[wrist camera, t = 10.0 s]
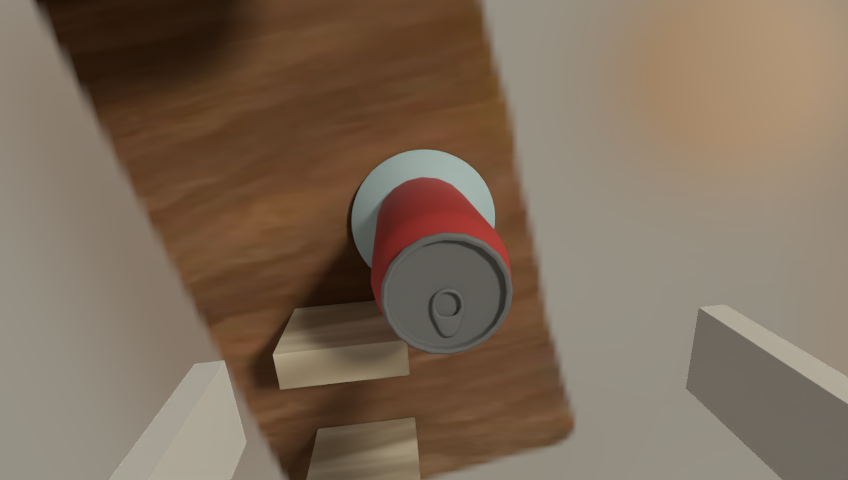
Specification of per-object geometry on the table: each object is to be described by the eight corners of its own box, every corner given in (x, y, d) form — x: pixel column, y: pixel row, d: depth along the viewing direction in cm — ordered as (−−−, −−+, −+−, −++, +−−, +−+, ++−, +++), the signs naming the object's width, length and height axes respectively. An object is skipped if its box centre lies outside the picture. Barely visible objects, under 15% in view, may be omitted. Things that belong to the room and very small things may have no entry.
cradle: (294, 308, 30) (272, 354, 24) (402, 297, 30) (405, 339, 25) (322, 452, 34) (308, 521, 28) (417, 441, 35) (422, 506, 29)
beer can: (381, 271, 29) (376, 373, 18) (371, 179, 27) (358, 228, 16) (472, 262, 29) (524, 358, 18) (469, 171, 27) (526, 214, 16)
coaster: (343, 155, 27) (342, 156, 26) (491, 143, 28) (493, 143, 27) (361, 292, 30) (360, 295, 30) (494, 278, 31) (496, 281, 30)
